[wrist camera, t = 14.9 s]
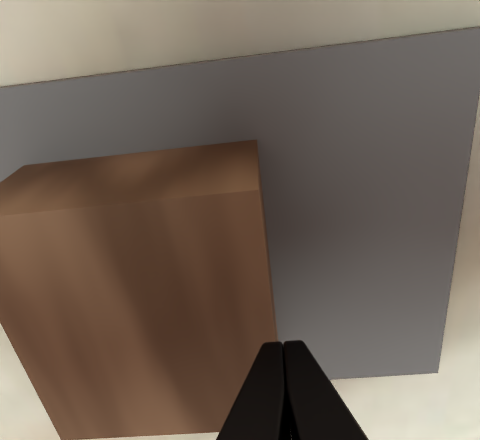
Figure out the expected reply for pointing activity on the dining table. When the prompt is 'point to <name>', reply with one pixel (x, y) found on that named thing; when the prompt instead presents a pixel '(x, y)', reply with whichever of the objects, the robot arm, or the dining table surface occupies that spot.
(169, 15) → the dining table surface
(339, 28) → the dining table surface
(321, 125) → the mat
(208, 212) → the slab
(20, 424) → the dining table surface
